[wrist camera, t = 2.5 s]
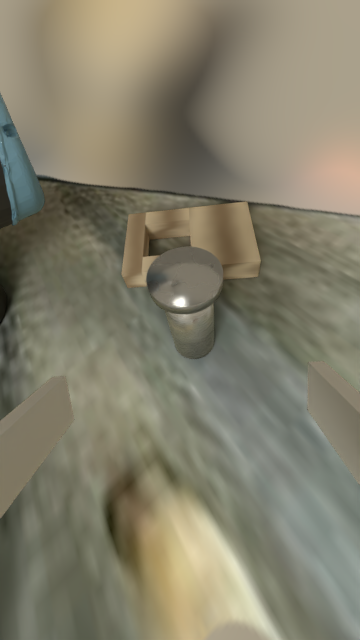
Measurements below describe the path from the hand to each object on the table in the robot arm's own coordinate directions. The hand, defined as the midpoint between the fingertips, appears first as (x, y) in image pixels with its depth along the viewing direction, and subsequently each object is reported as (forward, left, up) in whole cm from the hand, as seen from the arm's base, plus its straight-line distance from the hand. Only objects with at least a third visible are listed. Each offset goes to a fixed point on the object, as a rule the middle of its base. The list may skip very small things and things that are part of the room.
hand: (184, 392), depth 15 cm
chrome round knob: (0, +11, -15) cm, 18 cm away
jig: (0, +26, -15) cm, 30 cm away
